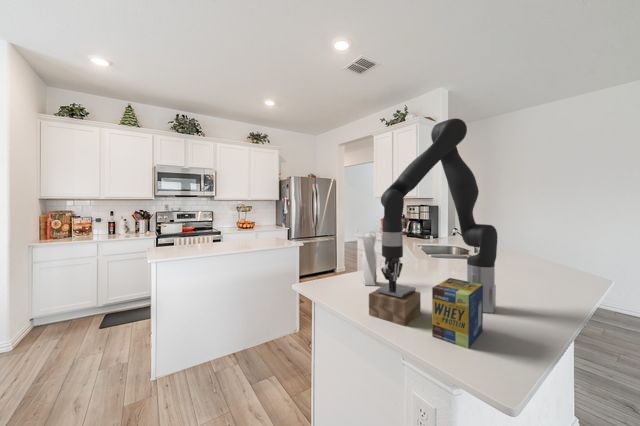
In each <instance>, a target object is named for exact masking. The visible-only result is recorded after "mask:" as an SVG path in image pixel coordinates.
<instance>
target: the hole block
mask: <svg viewBox="0 0 640 426" xmlns="http://www.w3.org/2000/svg"><path fill="white" fill-rule="evenodd" d="M421 301H422V300H421V292H420V291H414V292H412V293H410V294H408V295H406V296H405V297H403V298H400V297H396V296H392V295H388V294H383V293H379V292H377V289H375V290H373V291H371V292H368V315H369V316H370V317H374V318H377V319H380V320H384V321H387V322H391V323H394V324H398V325H400V326H403V327H405V326H407V325H408V324H410V322H411V321H413V320H414V319H415V318H417V317H418V316H419V315H420V314H421Z"/></svg>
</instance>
